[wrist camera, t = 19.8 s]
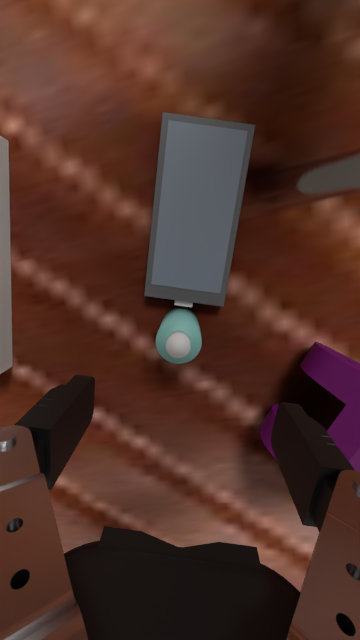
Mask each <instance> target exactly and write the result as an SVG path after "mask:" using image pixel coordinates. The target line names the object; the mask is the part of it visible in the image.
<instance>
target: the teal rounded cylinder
mask: <svg viewBox="0 0 360 640" xmlns="http://www.w3.org/2000/svg"><path fill="white" fill-rule="evenodd" d="M201 344H202V339H201V333H200V326H199V321H198V318H197V316H196V315H195V313H194V312H193V311H191V310H190V309H188V308H184V307H177V308H173V309H171V310H170V311H168V312H167V313H166V314H165V316H164V318H163V320H162V323H161V325H160V328H159V330H158V333H157V336H156V347H157V350H158V352H159V354H160V355H161V356H162V357H163V358H164V359H165V360H167V361H169V362H171V363H176V364H182V363H186V362H189V361H191V360H192V359H194V358H195V357H196V356H197V355H198V353H199V351H200V349H201Z"/></svg>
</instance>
